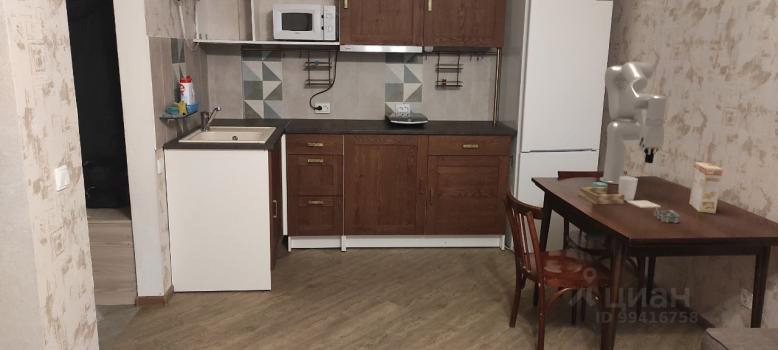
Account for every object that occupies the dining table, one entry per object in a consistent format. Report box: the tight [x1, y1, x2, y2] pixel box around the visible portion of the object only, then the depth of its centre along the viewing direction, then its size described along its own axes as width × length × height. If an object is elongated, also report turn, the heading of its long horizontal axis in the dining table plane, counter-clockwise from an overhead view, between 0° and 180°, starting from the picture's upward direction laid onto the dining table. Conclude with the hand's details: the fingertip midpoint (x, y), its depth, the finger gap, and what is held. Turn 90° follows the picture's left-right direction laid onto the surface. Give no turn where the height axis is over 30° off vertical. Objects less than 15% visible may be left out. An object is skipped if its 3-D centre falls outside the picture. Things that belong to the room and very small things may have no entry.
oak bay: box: [578, 186, 625, 205], centre depth 272 cm, size 14×14×4 cm
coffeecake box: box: [689, 161, 724, 214], centre depth 263 cm, size 15×7×20 cm, turn 168°
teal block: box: [591, 181, 609, 195], centre depth 283 cm, size 5×5×5 cm
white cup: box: [617, 176, 639, 202], centre depth 274 cm, size 8×8×10 cm
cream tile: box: [626, 199, 662, 209], centre depth 266 cm, size 10×10×1 cm
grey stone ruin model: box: [653, 207, 681, 224], centre depth 244 cm, size 11×8×4 cm
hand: (648, 162), depth 274 cm, fingers closed
